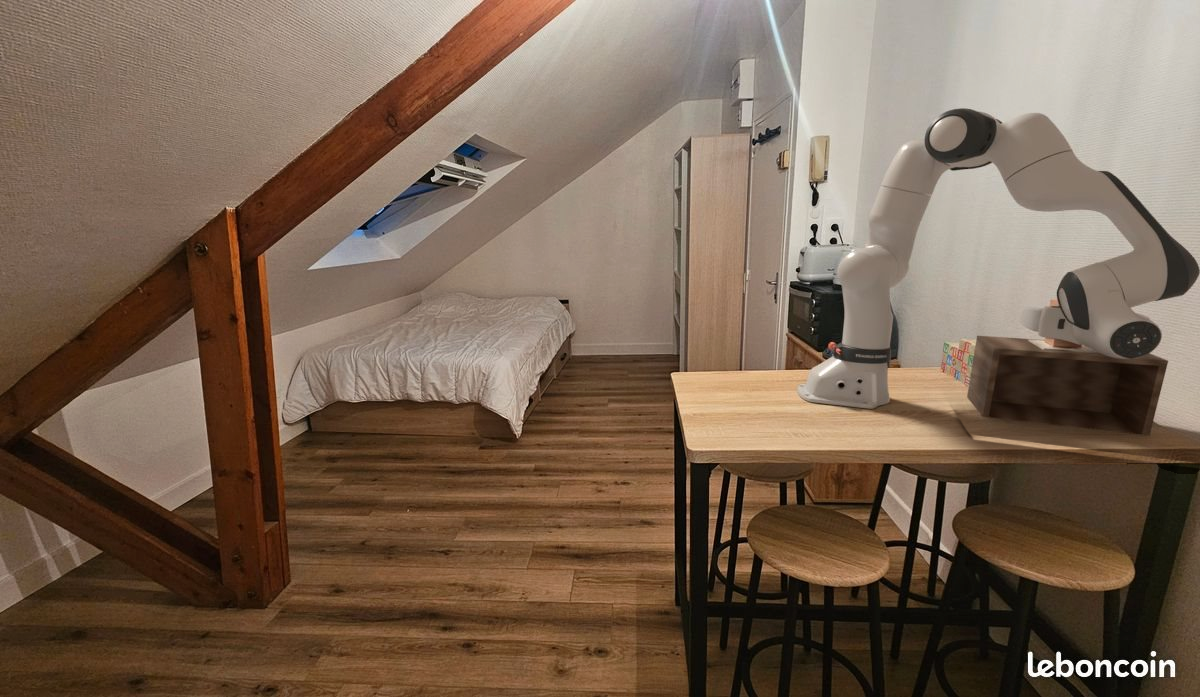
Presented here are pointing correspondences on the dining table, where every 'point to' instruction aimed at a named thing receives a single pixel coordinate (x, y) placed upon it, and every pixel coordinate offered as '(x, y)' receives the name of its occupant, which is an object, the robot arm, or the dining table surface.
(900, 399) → the dining table surface
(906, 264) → the robot arm
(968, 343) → the stack of blocks
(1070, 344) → the terracotta block
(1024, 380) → the cubby
